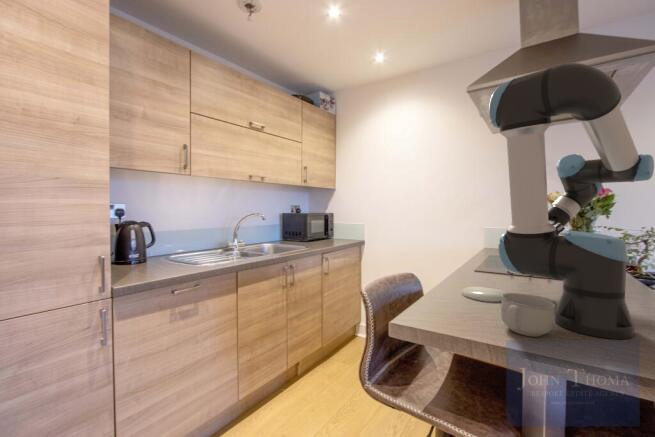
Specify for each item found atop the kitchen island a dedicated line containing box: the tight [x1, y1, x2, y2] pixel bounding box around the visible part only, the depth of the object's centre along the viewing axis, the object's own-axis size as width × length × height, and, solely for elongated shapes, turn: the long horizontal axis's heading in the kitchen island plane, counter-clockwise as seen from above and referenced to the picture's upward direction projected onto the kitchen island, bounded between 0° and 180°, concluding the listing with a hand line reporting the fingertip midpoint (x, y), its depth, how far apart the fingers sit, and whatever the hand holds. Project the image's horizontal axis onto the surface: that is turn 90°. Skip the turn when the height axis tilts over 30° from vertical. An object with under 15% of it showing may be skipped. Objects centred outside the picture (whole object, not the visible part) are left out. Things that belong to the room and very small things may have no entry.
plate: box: [461, 286, 507, 303], centre depth 104 cm, size 14×14×1 cm
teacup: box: [500, 292, 557, 338], centre depth 73 cm, size 14×11×8 cm
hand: (512, 258), depth 107 cm, fingers closed on pill bottle, 8 cm apart
